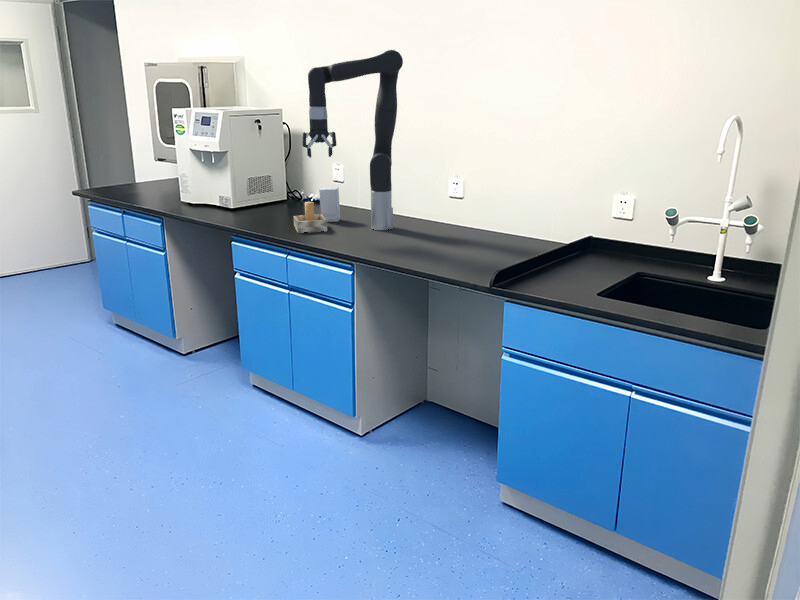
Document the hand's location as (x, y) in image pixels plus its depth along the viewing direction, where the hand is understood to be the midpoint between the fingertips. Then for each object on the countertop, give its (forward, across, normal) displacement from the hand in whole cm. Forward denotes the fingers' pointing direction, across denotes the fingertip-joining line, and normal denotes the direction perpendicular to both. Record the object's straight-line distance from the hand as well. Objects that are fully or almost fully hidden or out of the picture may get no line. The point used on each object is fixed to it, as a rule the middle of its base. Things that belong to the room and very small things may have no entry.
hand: (319, 157), depth 270 cm
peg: (+32, +5, -4) cm, 33 cm away
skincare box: (+32, -7, -19) cm, 38 cm away
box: (+32, +5, -4) cm, 33 cm away
